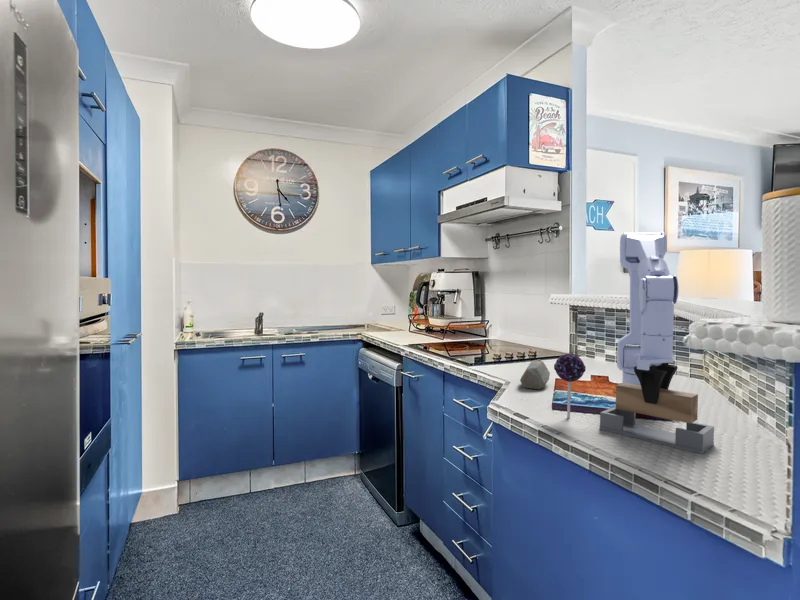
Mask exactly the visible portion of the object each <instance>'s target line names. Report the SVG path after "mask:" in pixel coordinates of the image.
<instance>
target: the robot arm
mask: <svg viewBox="0 0 800 600" xmlns="http://www.w3.org/2000/svg"><path fill="white" fill-rule="evenodd" d="M619 239H620V240H619V263H620V267H622V268H624V269H626V270H627V272H628V276H629V332H628V333H627V334H625V335H624V336H622V337H621V338H619V340H617V348H616V367H617V369H618V370H619V371H622V376H621V378H622V379H621V380H622V382H621V384H622V383H629V384H635V385H641V388H642V393H643V397H644V401H645V402H646V403H651V404H657V402H658V398H659V392H660V388H661V389H667V390H669V387H670V384H671V381H672V379H673V377H674V375H675V374H676V372H677V370H678V366H677V365H674V364H673V365H672V363H674V353H673V351H674V348H673V347H674V345H673V343H674V322H675V321H674V316H675V305H676V303H677V301H678V298H679V291H680V290H679V288H680V287H679V281H678V277H677V275H675V274H671V273H670V271H669V268H668V264H667V261H665V260H664V258H665V255H666V254H667V253H666V252H667V249H668V248H667V245H668V239H667V234H666V233H665V232H664V231H659V232H656V231H655V232H623V233H622V234H621V235H620V238H619ZM631 345H634V346H631ZM636 345H637V346H636Z"/></svg>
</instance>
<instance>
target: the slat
mask: <svg viewBox="0 0 800 600" xmlns="http://www.w3.org/2000/svg"><path fill="white" fill-rule="evenodd" d="M698 404H699V394H697V393H692V392H685V391H679V390H671V389H668V390H667V389H661V388H660V392H659V398H658V402H657V404H651V403H646V402H645V401H644V397H643V393H642V388H641V385H635V384H629V383H622V382H621V383H619V384H616V385H615V405H616V406H615V407H616V409H620V410H625V411H630V412H635V413H636V414H641V415H647V416H650V417H655V418H661V419H666V420H670V421H671V420H672V421H675V422H681V423H685V424H686V423H690V424H691V423H693V422H694V423H695V422H697V421H698V409H699V407H698Z"/></svg>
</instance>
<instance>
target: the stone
mask: <svg viewBox="0 0 800 600" xmlns="http://www.w3.org/2000/svg"><path fill="white" fill-rule="evenodd" d="M550 374H551V373H550V371H549V369H548V368H547V365H546V364H545V362H544V361H542V360H541V359H539V358H538V359H534V360H532V361H530V363H528V366H527V368H526V369H525V371H524V372H523V374H522V376H521V377H520V379H519V381H520V383H521V386H522V387H523V388H526V389H533V390H542V389H544V387H545V386H546V385H547V383H548V382H549V380H550Z"/></svg>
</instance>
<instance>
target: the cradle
mask: <svg viewBox="0 0 800 600" xmlns="http://www.w3.org/2000/svg"><path fill="white" fill-rule="evenodd" d="M636 415H637V413H635V412H630V411H625V410H620V409H616V406H612V407H610V408H607V409H605V410H603V411H600V414H599V417H600V418H599V430H600V431H601V430H602V431H606V432H610V433H612V434H613V433H614V434H617V435H622V436H626V437H630V438H635V439H637V440H638V439H639V440H642V441H647V442H651V443H654V444H659V445H663V446H666V447H667V446H668V447H672V448H676V449H680V450H684V451H687V452H692V453H697V454H701V455H703V454H704V453H705V452H707V451H708V450H709V449H711V448H712V446H714V445H715V441H714V440H715V439H714V438H715V426H714V425H708V424H703V423H699V422H695V421H694V422H693V423H691V424H690V423H685V425H686V426H685V427H686V429H685V428H680V427H675V432H673V431H668V430H663V429H658V428H654V427H650V426H645V425H641V424H636Z"/></svg>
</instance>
